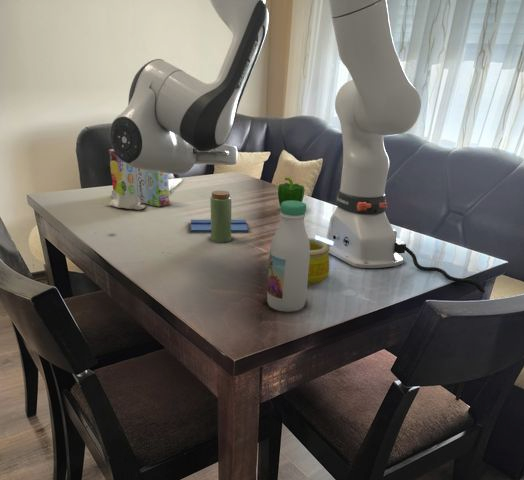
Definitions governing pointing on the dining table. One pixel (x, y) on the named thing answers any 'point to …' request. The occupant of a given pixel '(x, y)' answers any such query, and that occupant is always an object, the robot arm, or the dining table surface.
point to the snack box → (139, 182)
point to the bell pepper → (290, 191)
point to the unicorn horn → (173, 183)
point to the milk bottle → (289, 260)
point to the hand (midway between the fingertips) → (206, 157)
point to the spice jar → (220, 216)
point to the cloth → (206, 226)
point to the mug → (318, 262)
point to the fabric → (126, 201)
